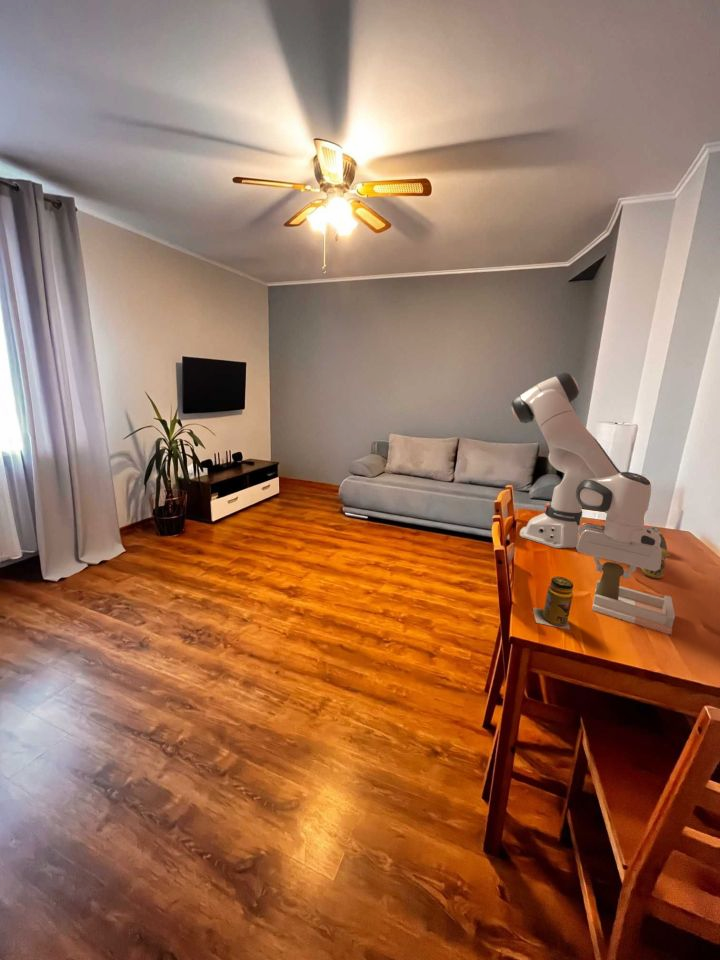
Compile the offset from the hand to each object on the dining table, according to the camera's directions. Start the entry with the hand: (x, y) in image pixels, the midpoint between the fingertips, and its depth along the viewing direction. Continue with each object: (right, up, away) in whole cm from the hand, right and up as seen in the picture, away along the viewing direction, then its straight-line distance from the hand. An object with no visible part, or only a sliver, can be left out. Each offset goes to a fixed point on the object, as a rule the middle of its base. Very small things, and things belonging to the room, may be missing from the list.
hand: (611, 574), depth 111 cm
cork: (0, -8, +2) cm, 8 cm away
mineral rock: (+43, -1, +42) cm, 60 cm away
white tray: (+5, -10, -1) cm, 11 cm away
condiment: (-21, -11, -6) cm, 24 cm away
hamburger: (+27, -6, +21) cm, 35 cm away
